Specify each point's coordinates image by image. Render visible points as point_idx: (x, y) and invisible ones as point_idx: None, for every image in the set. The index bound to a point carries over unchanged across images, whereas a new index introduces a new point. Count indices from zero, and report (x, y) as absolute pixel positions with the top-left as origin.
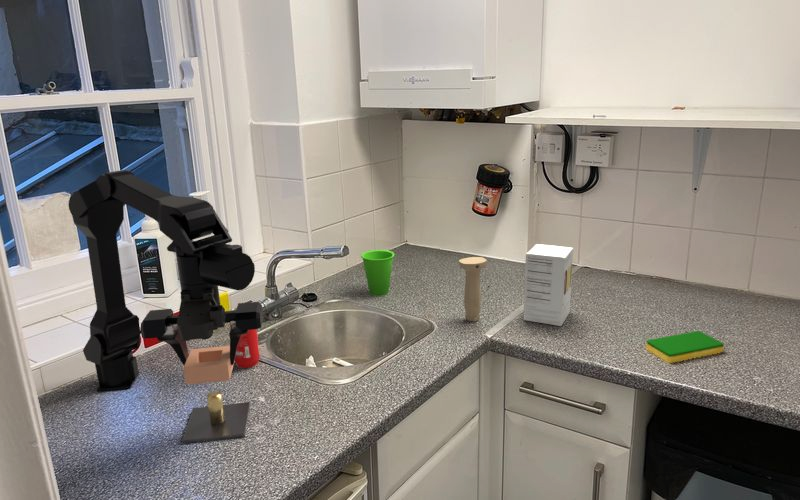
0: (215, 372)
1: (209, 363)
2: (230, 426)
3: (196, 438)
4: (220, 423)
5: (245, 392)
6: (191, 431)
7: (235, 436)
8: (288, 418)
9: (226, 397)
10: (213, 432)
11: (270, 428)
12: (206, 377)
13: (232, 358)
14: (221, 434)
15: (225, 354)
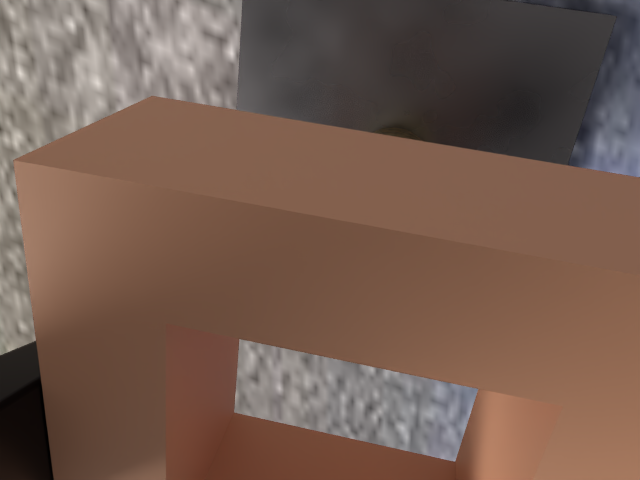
0: (264, 155)
1: (316, 297)
2: (323, 75)
3: (527, 8)
4: (377, 126)
5: (257, 378)
6: (548, 101)
7: None
8: (35, 75)
9: (344, 372)
10: (421, 42)
11: (116, 7)
12: (403, 157)
13: (31, 357)
14: (376, 2)
15: (112, 459)
